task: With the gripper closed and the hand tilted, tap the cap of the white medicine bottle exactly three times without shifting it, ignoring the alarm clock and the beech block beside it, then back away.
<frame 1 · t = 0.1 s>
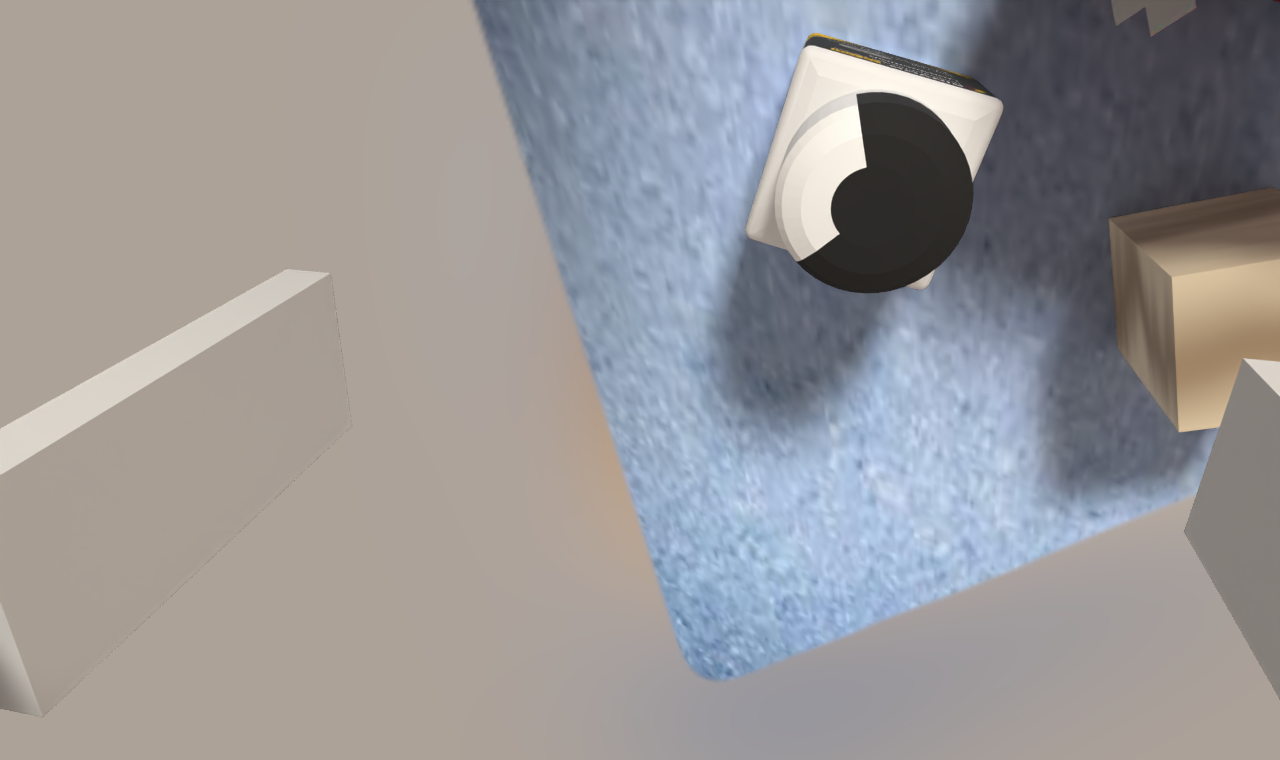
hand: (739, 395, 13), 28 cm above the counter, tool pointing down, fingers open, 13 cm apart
beech block: (1191, 271, 38), on the counter
medicine bottle: (862, 139, 38), on the counter
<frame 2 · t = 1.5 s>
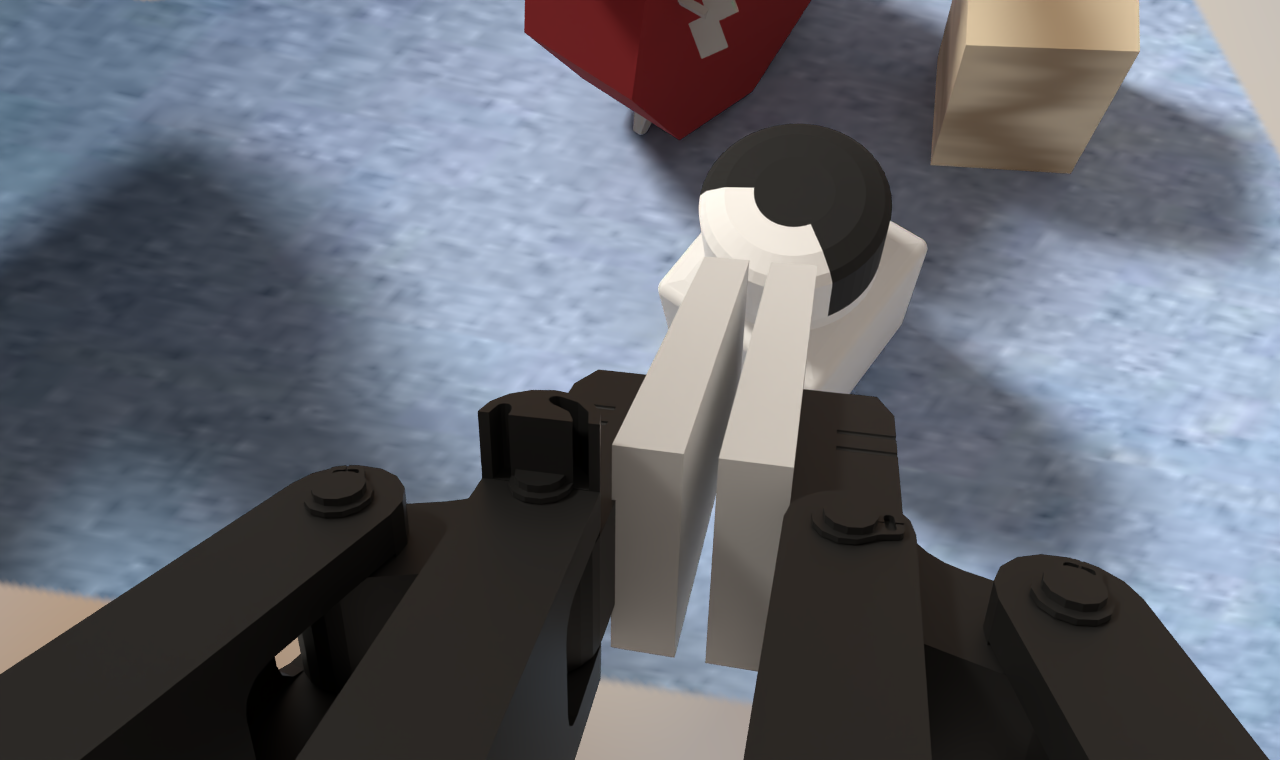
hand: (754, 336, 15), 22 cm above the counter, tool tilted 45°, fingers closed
beech block: (1001, 113, 41), on the counter
medicine bottle: (787, 341, 39), on the counter
alarm clock: (723, 76, 44), on the counter
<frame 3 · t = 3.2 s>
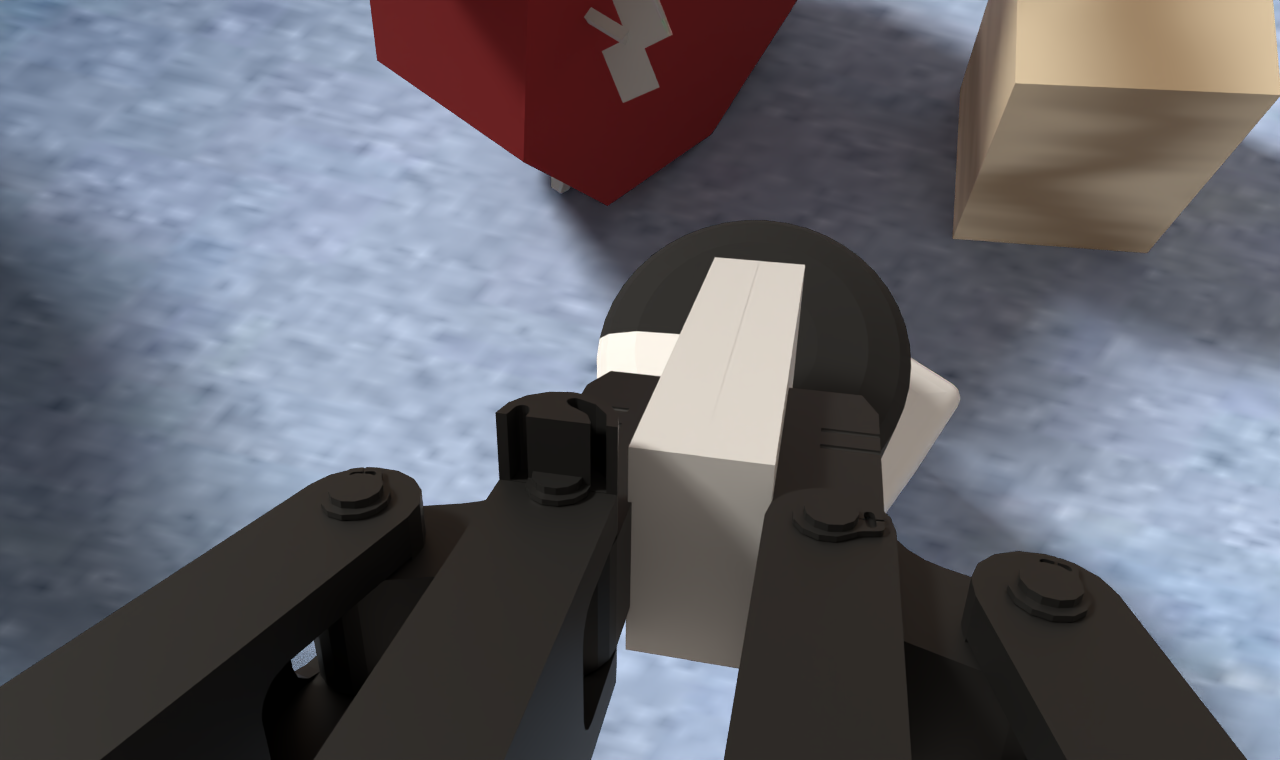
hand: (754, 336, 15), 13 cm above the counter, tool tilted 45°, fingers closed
beech block: (1048, 167, 30), on the counter
medicine bottle: (755, 490, 28), on the counter, touching gripper
alarm clock: (673, 113, 33), on the counter
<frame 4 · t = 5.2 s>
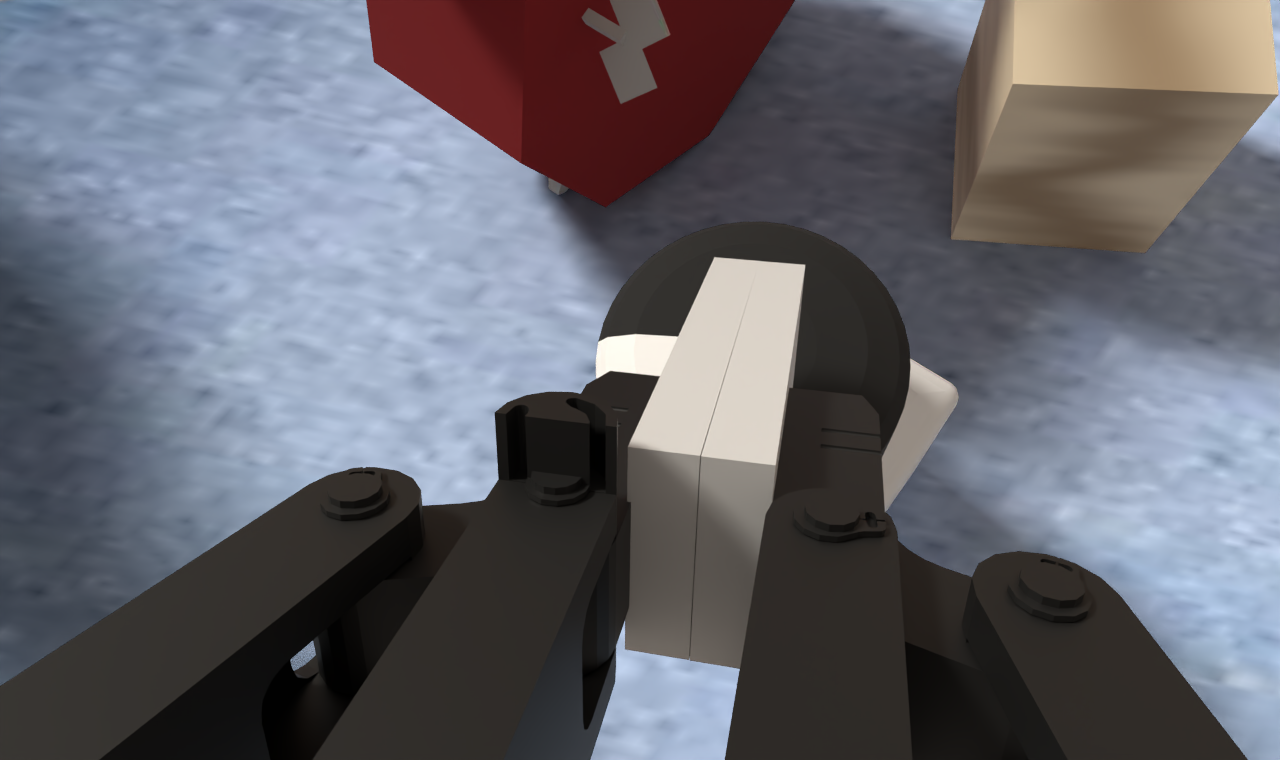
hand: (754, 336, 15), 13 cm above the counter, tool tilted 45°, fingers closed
beech block: (1046, 167, 30), on the counter
medicine bottle: (754, 491, 28), on the counter, touching gripper
alarm clock: (671, 114, 33), on the counter
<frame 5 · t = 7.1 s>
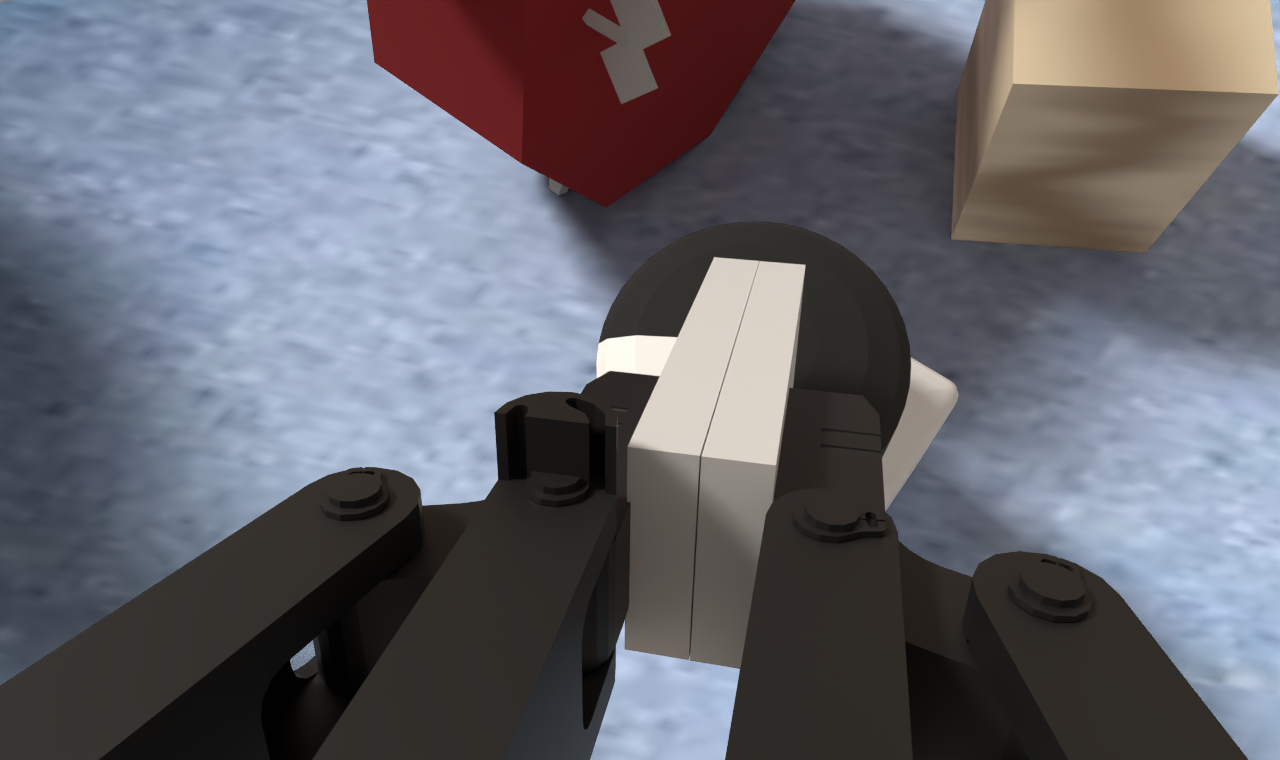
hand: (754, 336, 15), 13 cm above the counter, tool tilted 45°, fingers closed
beech block: (1046, 167, 30), on the counter
medicine bottle: (755, 491, 28), on the counter, touching gripper
alarm clock: (671, 115, 33), on the counter
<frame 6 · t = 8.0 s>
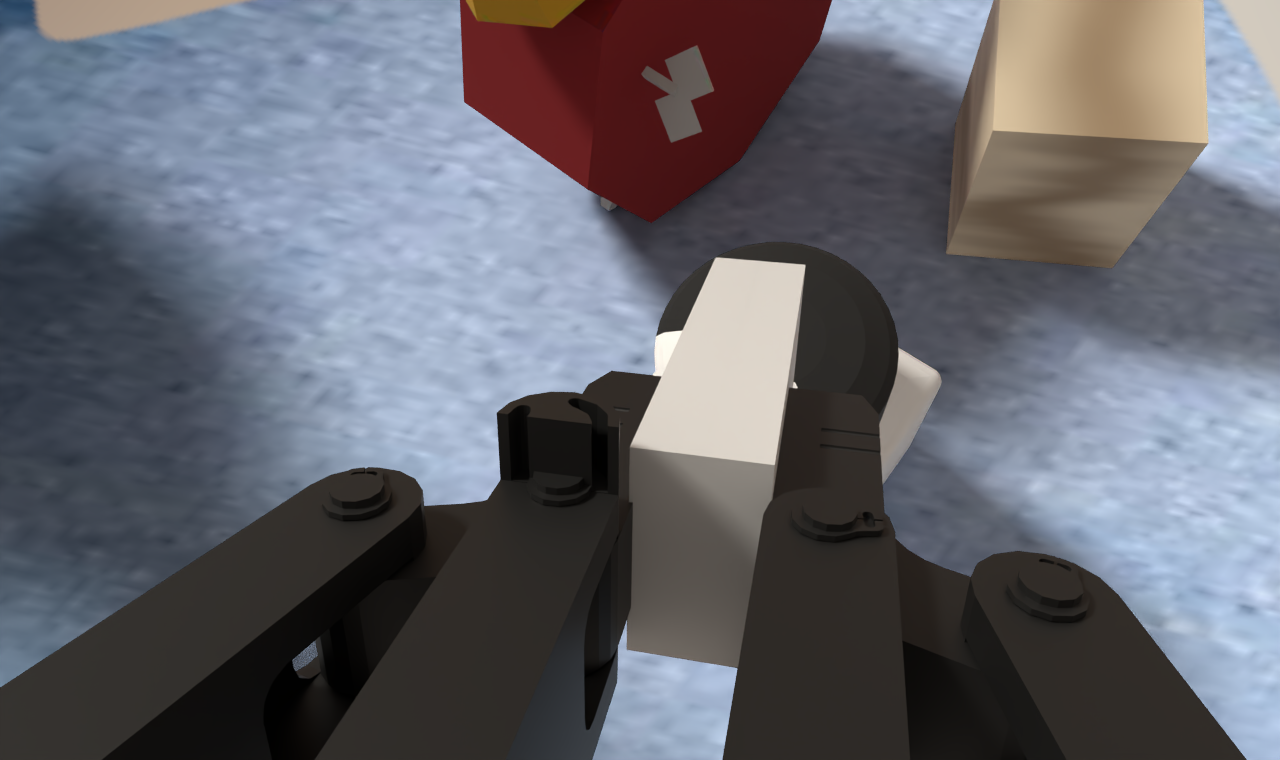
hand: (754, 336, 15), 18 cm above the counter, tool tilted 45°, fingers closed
beech block: (1030, 193, 35), on the counter
medicine bottle: (774, 465, 33), on the counter
alarm clock: (706, 142, 38), on the counter
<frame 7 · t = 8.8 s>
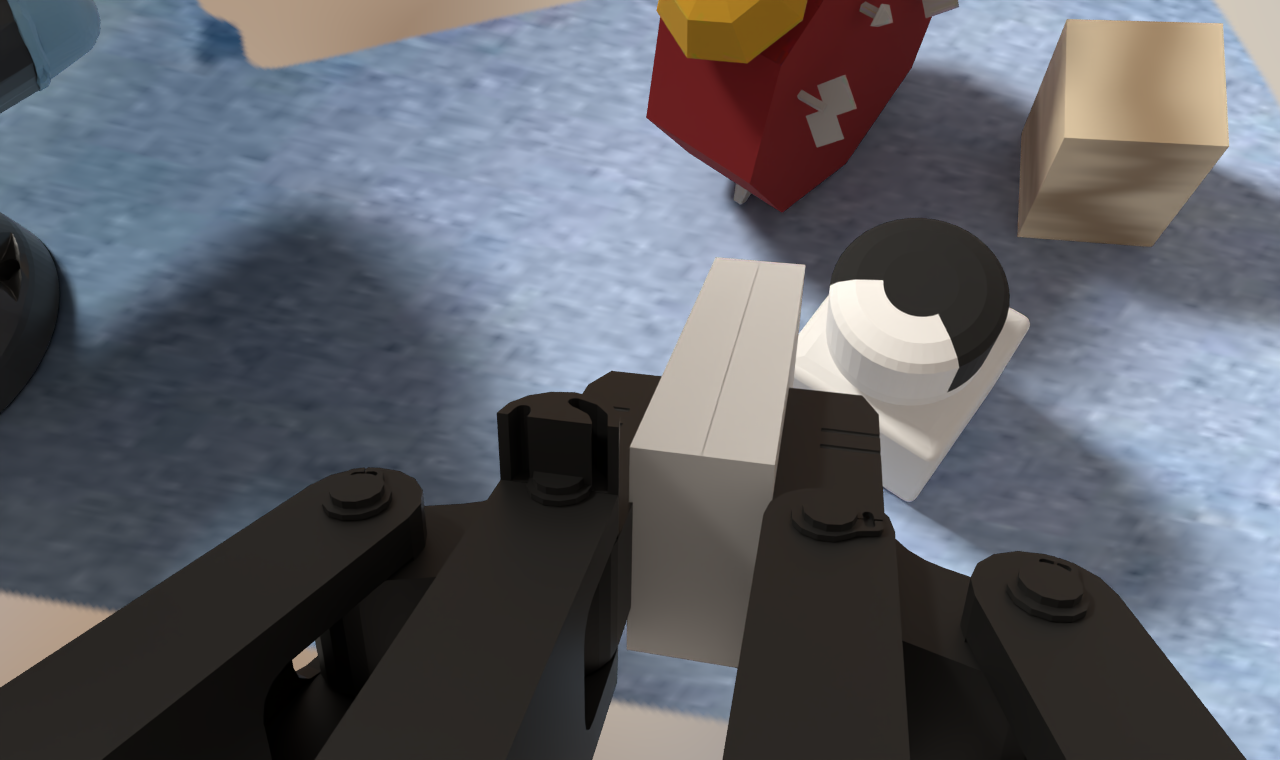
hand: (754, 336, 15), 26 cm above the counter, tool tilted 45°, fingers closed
beech block: (1084, 188, 44), on the counter
medicine bottle: (884, 402, 42), on the counter
alarm clock: (817, 149, 47), on the counter
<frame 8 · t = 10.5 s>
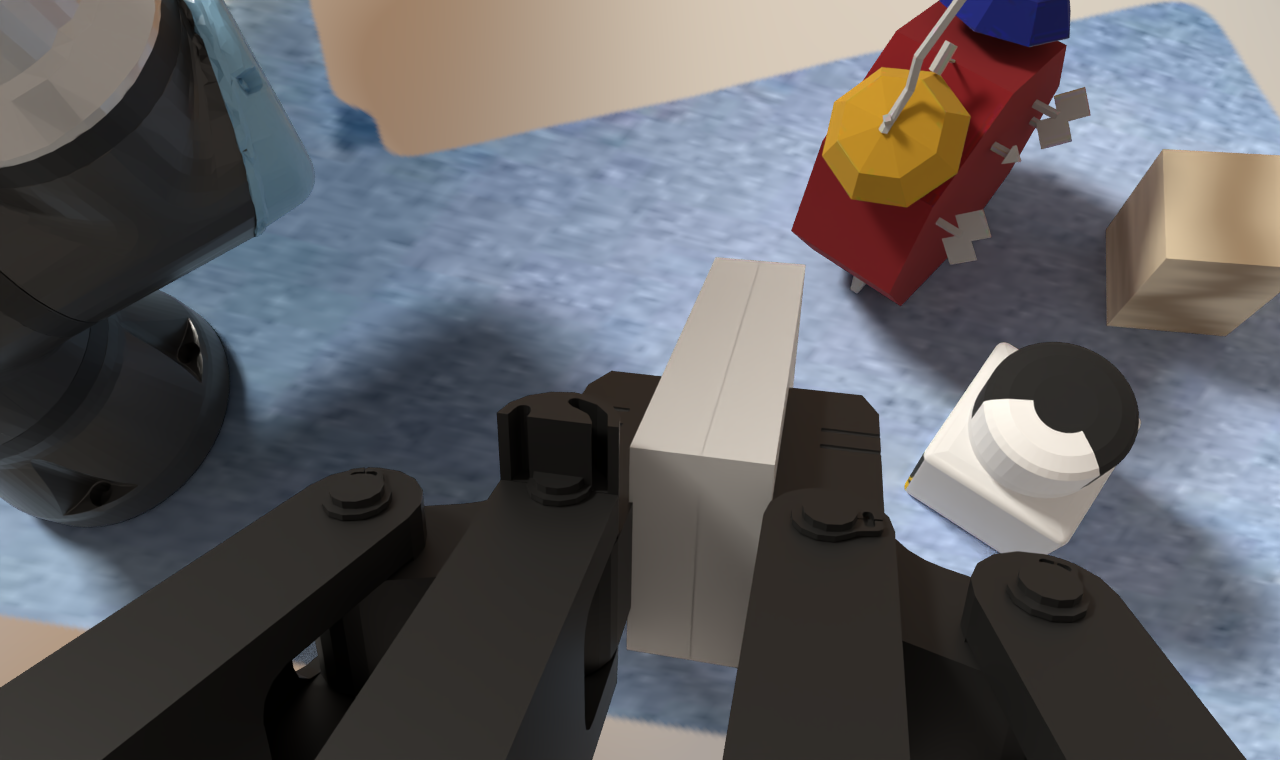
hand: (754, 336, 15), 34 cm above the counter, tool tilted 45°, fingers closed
beech block: (1163, 281, 50), on the counter
medicine bottle: (995, 475, 48), on the counter
alarm clock: (921, 241, 53), on the counter
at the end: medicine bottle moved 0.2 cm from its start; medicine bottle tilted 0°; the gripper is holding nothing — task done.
